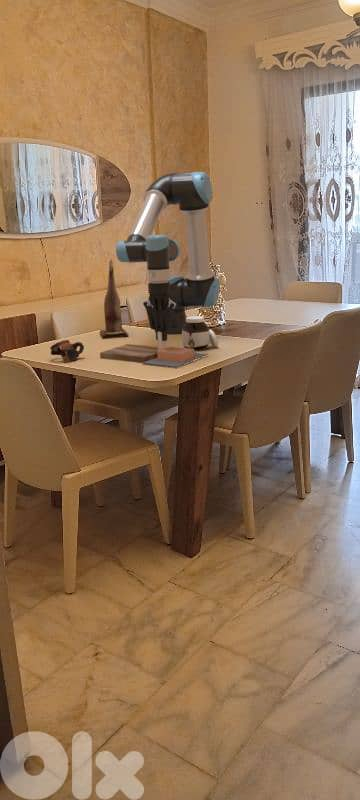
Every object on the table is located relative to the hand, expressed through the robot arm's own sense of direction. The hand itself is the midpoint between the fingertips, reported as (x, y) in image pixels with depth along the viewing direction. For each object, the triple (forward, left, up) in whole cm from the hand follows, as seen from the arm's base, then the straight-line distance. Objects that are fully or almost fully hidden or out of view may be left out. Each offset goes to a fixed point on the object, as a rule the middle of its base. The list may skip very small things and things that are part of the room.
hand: (162, 349), depth 223 cm
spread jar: (-21, +3, -4) cm, 22 cm away
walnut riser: (0, -12, -3) cm, 12 cm away
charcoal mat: (0, +6, -3) cm, 6 cm away
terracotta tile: (0, +6, -3) cm, 6 cm away
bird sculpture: (-28, -45, -4) cm, 53 cm away
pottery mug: (+15, -31, -4) cm, 35 cm away
